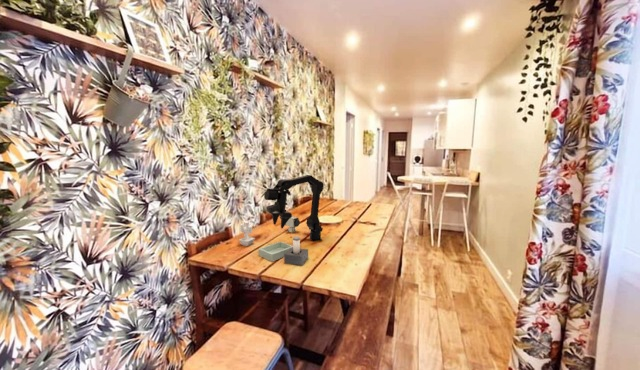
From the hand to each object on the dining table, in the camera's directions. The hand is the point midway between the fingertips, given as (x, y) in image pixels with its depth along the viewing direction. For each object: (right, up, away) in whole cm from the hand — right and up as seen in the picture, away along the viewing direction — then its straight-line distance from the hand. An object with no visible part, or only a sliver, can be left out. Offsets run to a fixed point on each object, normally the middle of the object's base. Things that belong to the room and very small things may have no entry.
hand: (278, 226), depth 155 cm
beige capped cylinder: (+12, -16, -14) cm, 25 cm away
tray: (0, -15, -6) cm, 16 cm away
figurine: (-21, -13, +9) cm, 26 cm away
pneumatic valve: (+5, -10, +34) cm, 36 cm away
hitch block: (+12, -16, -14) cm, 25 cm away
